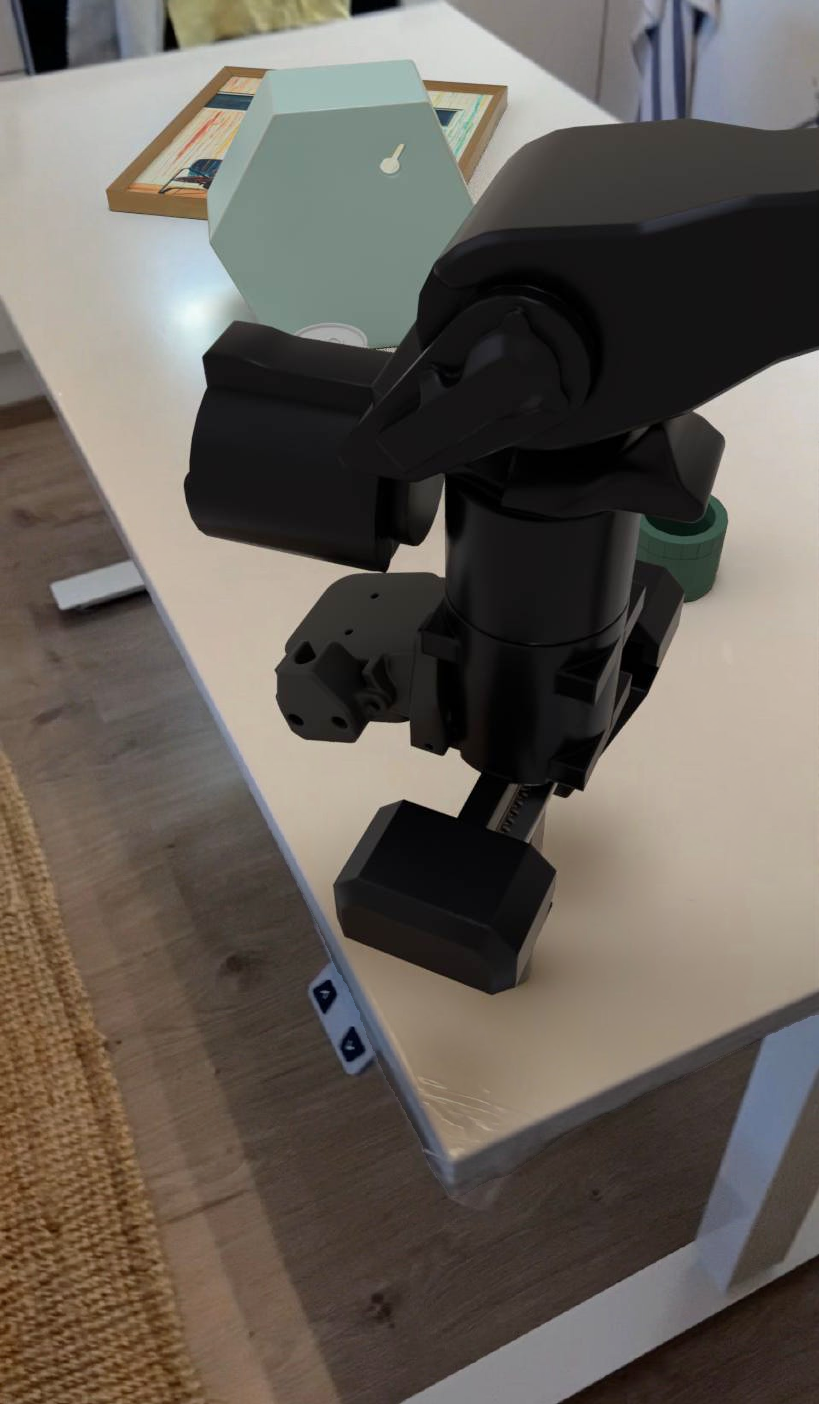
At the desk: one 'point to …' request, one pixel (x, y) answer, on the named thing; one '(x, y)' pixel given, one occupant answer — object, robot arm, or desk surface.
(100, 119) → the desk surface
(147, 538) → the desk surface
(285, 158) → the mint green hexagonal prism
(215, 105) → the picture frame
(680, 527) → the green round lever base
